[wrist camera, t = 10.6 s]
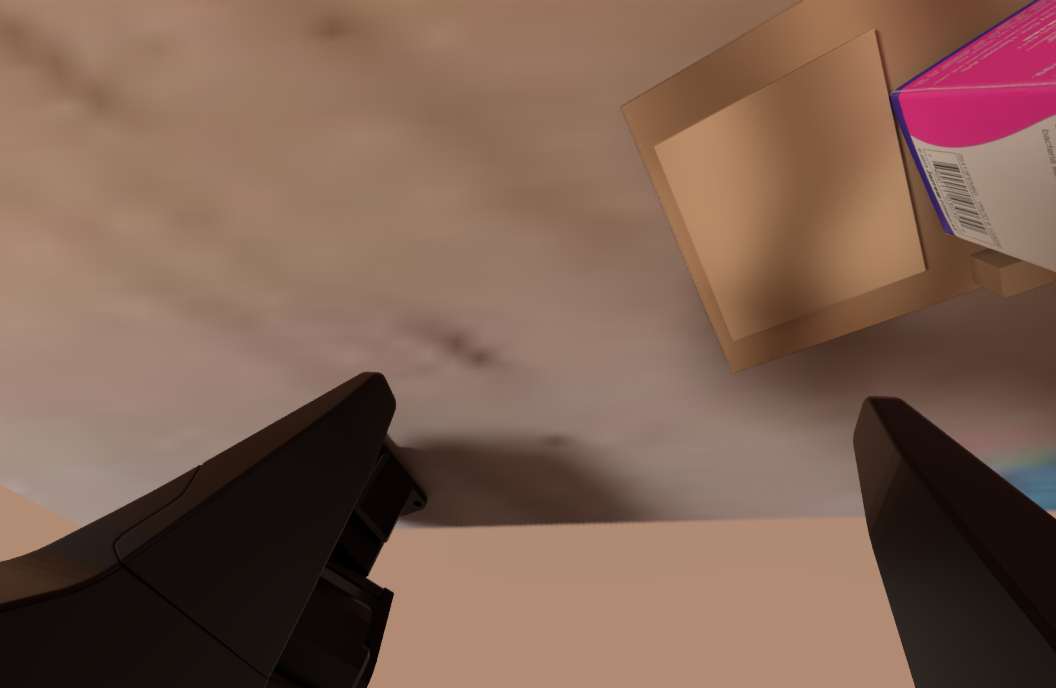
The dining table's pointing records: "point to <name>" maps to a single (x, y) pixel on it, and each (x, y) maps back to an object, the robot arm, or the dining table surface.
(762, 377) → the dining table surface
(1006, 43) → the supplement box
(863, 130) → the click board
